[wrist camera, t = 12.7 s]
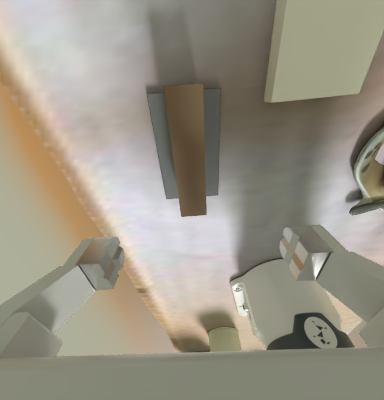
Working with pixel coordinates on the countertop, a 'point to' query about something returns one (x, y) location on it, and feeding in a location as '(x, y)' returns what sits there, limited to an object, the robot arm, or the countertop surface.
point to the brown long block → (188, 145)
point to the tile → (322, 47)
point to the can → (224, 339)
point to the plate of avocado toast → (370, 176)
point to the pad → (165, 147)
